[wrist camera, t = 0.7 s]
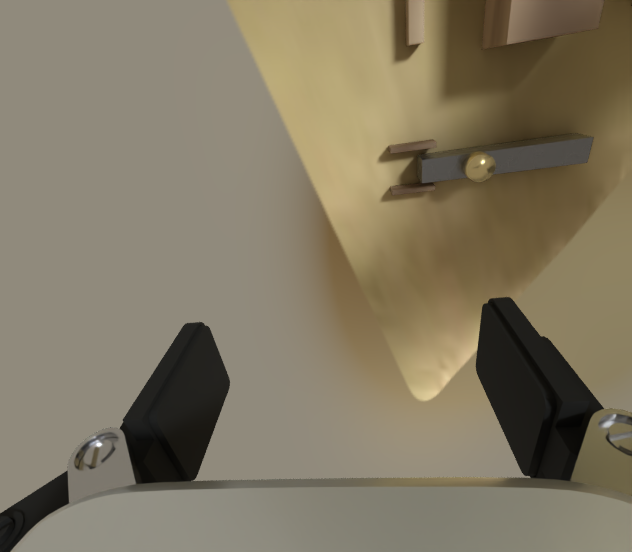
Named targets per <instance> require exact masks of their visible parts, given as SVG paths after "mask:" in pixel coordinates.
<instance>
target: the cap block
mask: <svg viewBox="0 0 632 552" xmlns="http://www.w3.org/2000/svg"><path fill="white" fill-rule="evenodd" d="M603 4H604V0H486V2H485V14H484V27H483V39H482V49H488V48H493V47H499V46H505V45H511V44H516V43H522V42H528V41H534V40H539V39H545V38H551V37H556V36H562V35H567V34H572V33H577V32H583V31H588V30H593V29H598V27H599V22H600V18H601V13H602V8H603Z"/></svg>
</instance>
